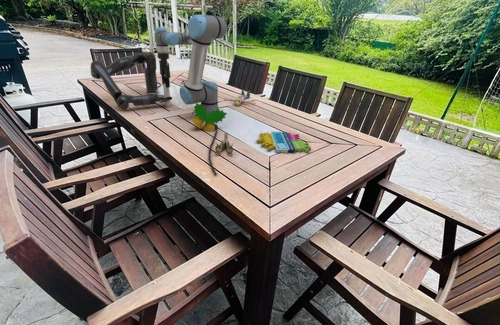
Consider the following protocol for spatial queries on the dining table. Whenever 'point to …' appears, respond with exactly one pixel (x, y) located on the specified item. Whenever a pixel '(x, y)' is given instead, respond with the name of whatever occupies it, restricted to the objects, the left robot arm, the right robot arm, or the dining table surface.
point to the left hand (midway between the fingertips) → (170, 97)
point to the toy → (241, 99)
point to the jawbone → (224, 145)
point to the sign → (283, 142)
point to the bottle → (166, 95)
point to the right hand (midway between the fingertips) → (166, 86)
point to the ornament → (207, 117)
